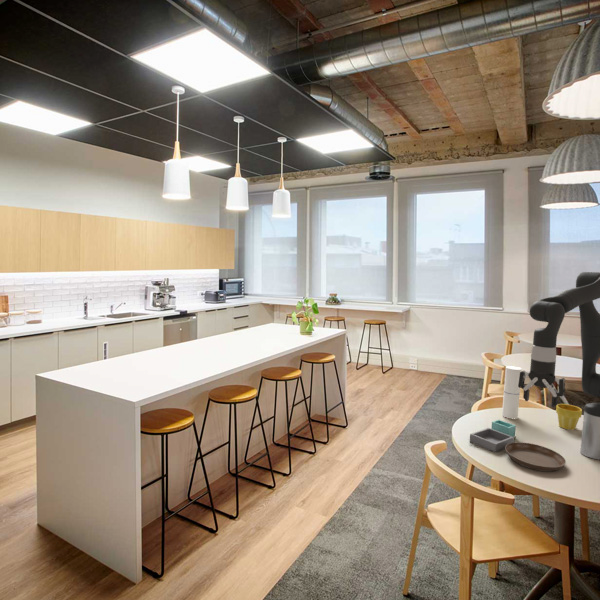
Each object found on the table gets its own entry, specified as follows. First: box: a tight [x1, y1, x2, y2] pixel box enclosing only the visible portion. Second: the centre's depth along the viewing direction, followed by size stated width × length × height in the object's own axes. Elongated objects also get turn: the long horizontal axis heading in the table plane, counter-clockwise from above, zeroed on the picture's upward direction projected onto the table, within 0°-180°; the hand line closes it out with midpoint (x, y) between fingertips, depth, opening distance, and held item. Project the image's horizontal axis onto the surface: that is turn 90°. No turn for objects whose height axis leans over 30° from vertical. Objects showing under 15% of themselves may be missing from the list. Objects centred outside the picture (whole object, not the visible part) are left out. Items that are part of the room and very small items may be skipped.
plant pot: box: [555, 403, 583, 431], centre depth 202 cm, size 10×10×10 cm
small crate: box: [490, 419, 517, 438], centre depth 191 cm, size 6×8×5 cm
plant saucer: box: [504, 441, 567, 472], centre depth 166 cm, size 21×21×3 cm
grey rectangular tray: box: [469, 427, 515, 453], centre depth 181 cm, size 14×12×4 cm
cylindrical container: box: [501, 365, 523, 420], centre depth 213 cm, size 7×7×25 cm
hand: (539, 403), depth 151 cm, fingers open, 8 cm apart
